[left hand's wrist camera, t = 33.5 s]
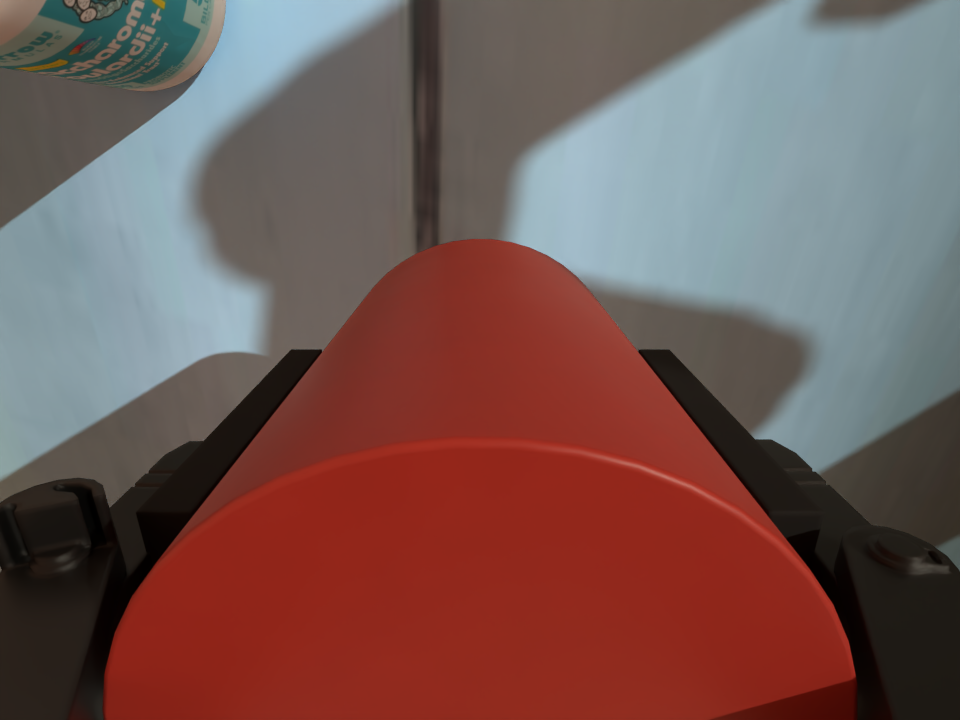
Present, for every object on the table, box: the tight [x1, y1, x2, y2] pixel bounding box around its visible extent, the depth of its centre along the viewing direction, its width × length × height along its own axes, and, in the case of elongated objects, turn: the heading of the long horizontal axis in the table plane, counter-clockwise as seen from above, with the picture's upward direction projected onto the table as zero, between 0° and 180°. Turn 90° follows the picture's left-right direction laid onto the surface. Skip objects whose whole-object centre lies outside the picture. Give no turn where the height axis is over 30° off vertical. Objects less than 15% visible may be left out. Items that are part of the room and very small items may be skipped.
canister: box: [102, 239, 857, 720], centre depth 11 cm, size 8×8×11 cm
